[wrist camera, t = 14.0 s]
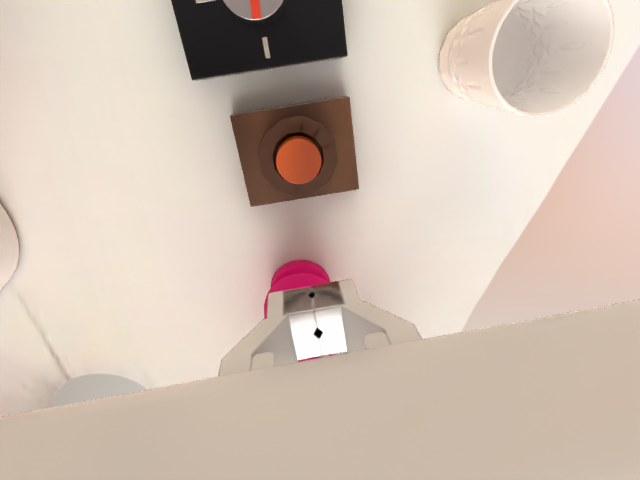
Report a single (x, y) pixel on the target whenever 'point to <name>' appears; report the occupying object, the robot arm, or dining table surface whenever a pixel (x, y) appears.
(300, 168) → the button
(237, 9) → the hob knob
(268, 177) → the button box
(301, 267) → the pepper mill
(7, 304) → the dining table surface
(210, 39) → the hob panel
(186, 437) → the robot arm
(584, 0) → the white cup
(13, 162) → the dining table surface
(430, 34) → the dining table surface
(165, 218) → the dining table surface
